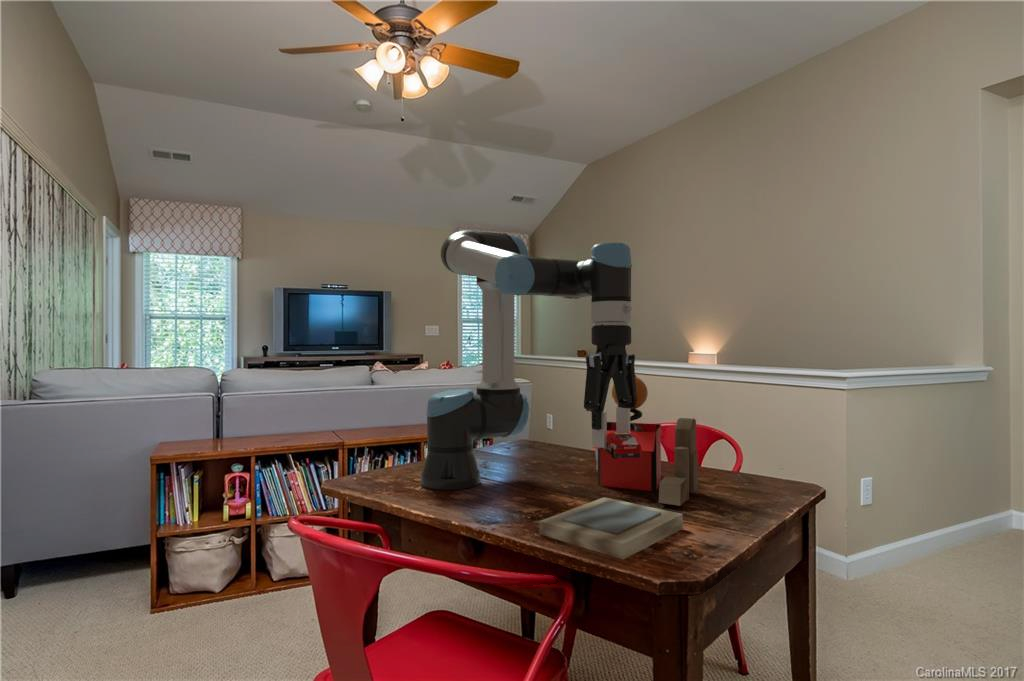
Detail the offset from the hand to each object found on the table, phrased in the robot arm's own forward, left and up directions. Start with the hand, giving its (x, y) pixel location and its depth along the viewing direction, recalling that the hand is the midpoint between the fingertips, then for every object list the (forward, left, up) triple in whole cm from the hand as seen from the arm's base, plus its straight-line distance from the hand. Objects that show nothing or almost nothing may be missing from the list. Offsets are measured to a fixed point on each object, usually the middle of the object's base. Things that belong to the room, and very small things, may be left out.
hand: (611, 443), depth 108 cm
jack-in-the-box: (-18, +37, -17) cm, 45 cm away
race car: (0, 0, -4) cm, 4 cm away
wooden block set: (-1, +30, -17) cm, 35 cm away
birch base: (0, 0, -17) cm, 17 cm away
